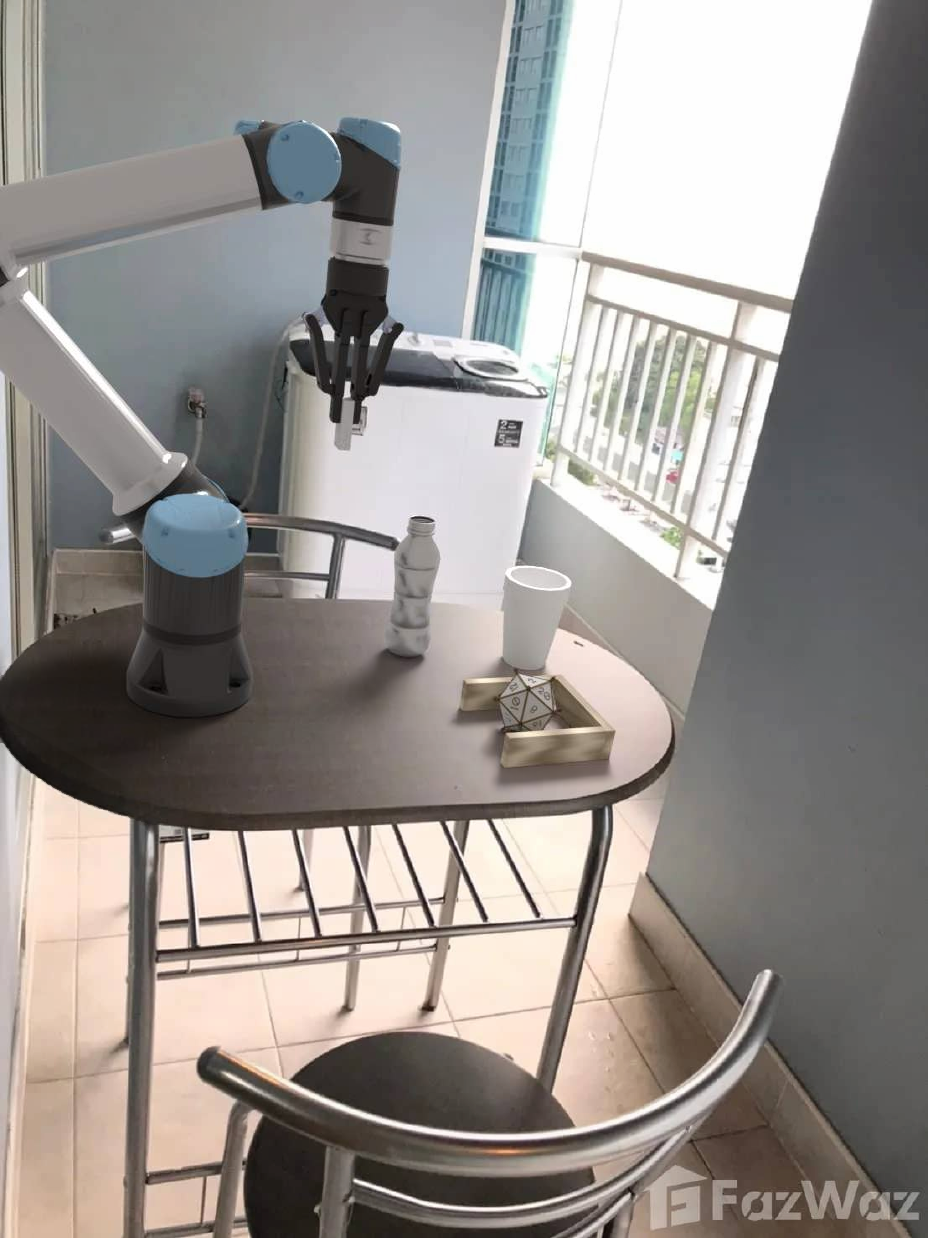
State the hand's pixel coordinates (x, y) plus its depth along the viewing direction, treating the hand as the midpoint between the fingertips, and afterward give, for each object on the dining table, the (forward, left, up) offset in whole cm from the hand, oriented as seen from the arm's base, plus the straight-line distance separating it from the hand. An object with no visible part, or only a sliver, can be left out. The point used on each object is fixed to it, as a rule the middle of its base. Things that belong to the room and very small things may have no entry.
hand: (341, 447), depth 132 cm
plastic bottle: (+11, -4, -29) cm, 31 cm away
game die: (+19, -28, -29) cm, 44 cm away
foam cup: (+28, -8, -29) cm, 41 cm away
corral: (+19, -28, -28) cm, 44 cm away
